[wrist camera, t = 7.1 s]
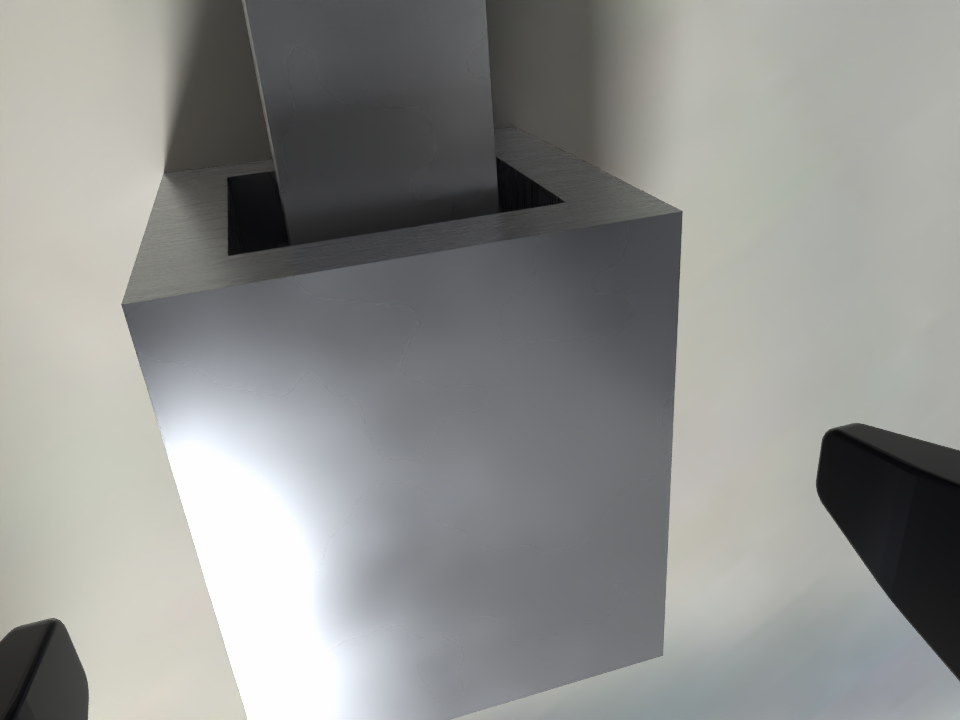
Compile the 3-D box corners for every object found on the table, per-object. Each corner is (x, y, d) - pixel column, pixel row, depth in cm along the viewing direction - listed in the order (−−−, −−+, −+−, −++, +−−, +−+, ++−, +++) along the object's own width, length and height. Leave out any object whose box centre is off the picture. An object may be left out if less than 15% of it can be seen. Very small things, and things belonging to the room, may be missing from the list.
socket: (531, 452, 17) (663, 655, 12) (252, 516, 16) (265, 774, 11) (514, 125, 14) (682, 211, 9) (164, 172, 13) (122, 303, 8)
